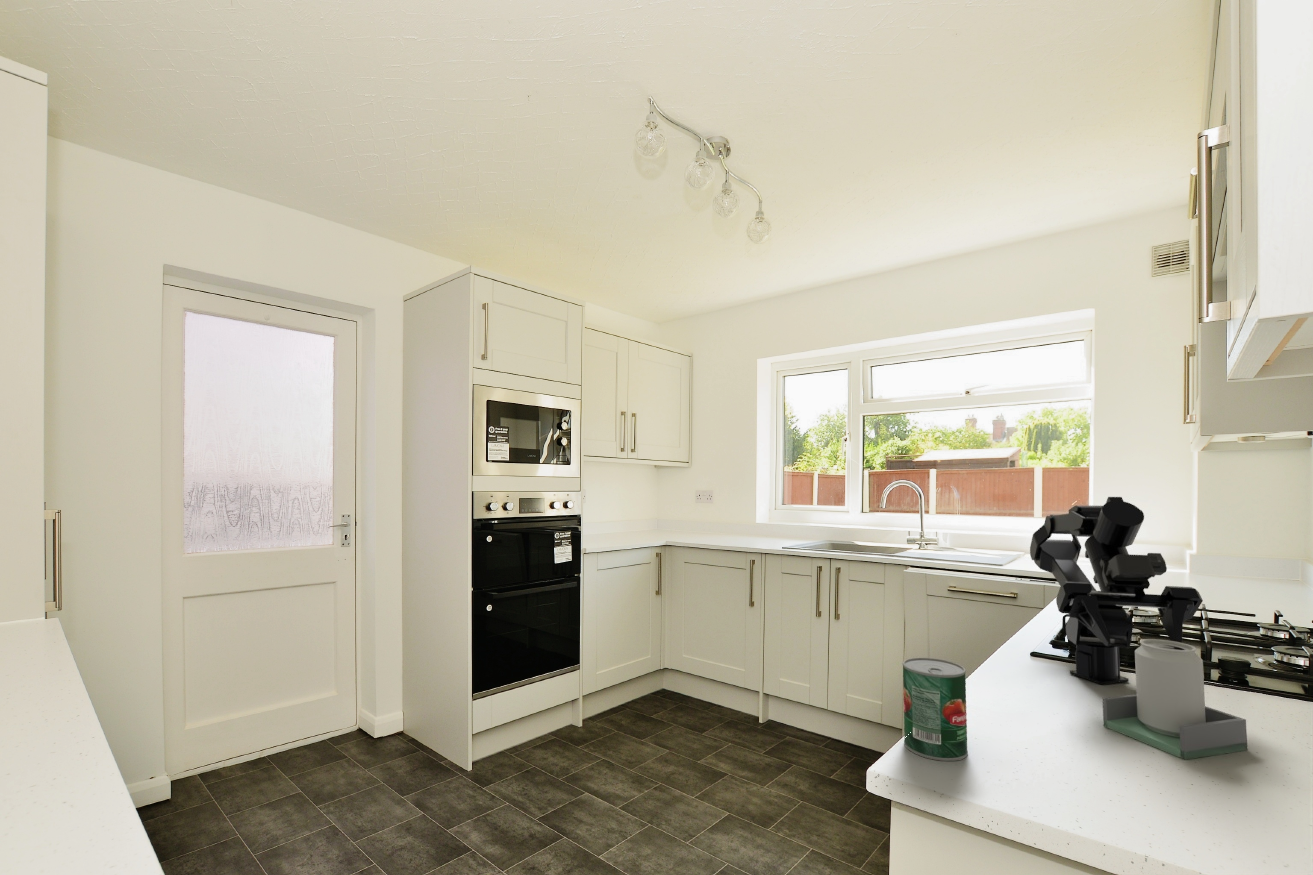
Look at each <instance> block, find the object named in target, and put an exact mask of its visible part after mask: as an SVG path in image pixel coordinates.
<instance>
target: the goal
mask: <svg viewBox="0 0 1313 875" xmlns="http://www.w3.org/2000/svg"><path fill="white" fill-rule="evenodd" d="M1101 699H1102V716H1103V719H1102V720H1103V721H1102V722H1103V727H1105V728H1106V729H1110V730H1113V731H1115V732H1117V733H1120V734H1123V735H1124V736H1127V737H1129V738H1131V739H1135V740H1137V741H1139V742H1142V743H1144V744H1147V745H1149V746H1151V747H1152V748H1153V747H1154V748H1156V749H1158V750H1161V751H1164V752H1165V753H1168V754H1171V755H1173V756H1175V757H1178V758H1180V759H1183V760H1186V761H1188V760H1193V759H1198V758H1199V759H1200V758H1204V757H1205V758H1206V757H1212V756H1213V757H1214V756H1217V755H1224V754H1225V755H1226V754H1231V753H1236V752H1243V751H1248V734H1247V719H1246V718H1242V717H1240V716H1237V715H1234V714H1231V713H1226V712H1224V711H1220V710H1217V709H1216V708H1215V709H1214V708H1212V707H1209V706H1206V705H1205V718H1206V723H1201V724H1193V725H1186V726H1179V730H1180V738H1179V737H1173V736H1168V735H1164V734H1161V733H1158V732H1155V731H1153V730H1151V729H1149V728H1147V727H1146V726H1145V724H1144V723H1142V722H1141V721H1140V720H1139V718H1138V716H1137V693H1135V694H1134V693H1133V694H1128V695H1126V694H1125V695H1119V696H1118V695H1117V696H1111V697H1109V696H1108V697H1102V698H1101Z"/></svg>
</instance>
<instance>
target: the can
mask: <svg viewBox="0 0 1313 875" xmlns="http://www.w3.org/2000/svg"><path fill="white" fill-rule="evenodd" d="M1139 643H1140V644H1141V645H1140V646H1138V647H1137V648H1136V649H1135V650H1134V662H1135V666H1134V667H1135V684H1136V685H1135V687H1136V691H1135V692H1136V694H1137V716H1138V718H1139V720H1140V721H1141V722H1142V723H1144V724H1145V726H1146V727H1147V728H1149V729H1151V730H1153V731H1155V732H1158V733H1161V734H1164V735H1168V736H1173V737H1179V738H1180V730H1179V726H1186V725H1193V724H1201V723H1206V718H1205V706H1206V703H1205V702H1206V701H1205V700H1206V699H1205V698H1206V697H1205V683H1204V682H1205V680H1204V679H1205V678H1204V660H1203V659H1202V658H1201V657H1200V656H1199V655H1198V654H1197V653H1196V652H1197V648H1196V647H1195V646H1193V645H1190V644H1188V643H1184V642H1182V643H1180V642H1175V641H1170V639H1169V640H1168V639H1158V638H1156V639H1155V638H1145V639H1140V641H1139Z"/></svg>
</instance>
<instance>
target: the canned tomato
mask: <svg viewBox="0 0 1313 875" xmlns="http://www.w3.org/2000/svg"><path fill="white" fill-rule="evenodd" d="M901 664H902V680H903V681H902V683H903V686H902V687H903V724H904V725H903V731H904V732H903V733H904V735H903V736H904V740H903V744H904V746H905V748H906V749H907V750H908V751H910V752H911V753H913V754H914V755H915V754H916V755H917V756H920V757H922V758H926V759H928V760H929V759H930V760H933V761H940V762H941V761H942V762H956V761H961V760H964V759H965V758H966V757H967V756H968V753H969V752H968V729H967V728H968V725H967V724H968V723H967V721H968V719H967V714H968V713H967V688H966V686H967V684H966V683H967V682H966V672H967V670H966V668H965V667H964V666H962V665H961V664H959V663H956V662H953V661H950V660H947V659H940V658H936V657H935V658H934V657H912V658H911V657H910V658H907V659H904V660H903V661H902V663H901ZM910 732H911V733H910ZM908 734H909V735H908ZM906 736H907V737H906ZM905 737H906V738H905Z"/></svg>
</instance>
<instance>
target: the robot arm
mask: <svg viewBox="0 0 1313 875" xmlns="http://www.w3.org/2000/svg"><path fill="white" fill-rule="evenodd" d="M1144 519H1145V514H1144V512H1143V510H1142V509H1140V508H1139V507H1137V506H1136V505H1135V504H1133V503H1129V502H1128V501H1124V499H1123V497H1122V496H1108V497H1107V498H1106V502H1105V503H1104V504H1103V505H1084V504H1083V505H1079V504H1077V505H1076V504H1075V505H1073V506H1072V507H1070V508H1069V509H1068V513H1062V514H1061V513H1060V514H1050V515H1046V517H1045V519H1044V524H1043V525H1042V526H1040V527H1039V529H1037V530H1036V531H1035V532H1033V534H1032V538H1031V542H1030V546H1029V554H1030V559H1031V561H1034V564H1035V565H1036V566H1037V567H1038V568H1039V569H1040V570H1042V571H1044V572H1047V573H1050V574H1052V575H1053V577H1054V578H1055V580H1056V581H1057V583H1058V584H1059V587H1060V588H1059V590H1058V592H1057V596H1056V598H1055V600H1056V605H1057V610H1058V612H1059V613H1061V614H1067V615H1068V616H1069V618H1068V620H1067V622H1066V625H1065V633H1066V639H1067V640H1069V641H1070V642H1071V643H1073V644H1074V645H1076V647H1075V648H1076V650H1075V669H1072V670H1069V674H1071V675H1074V676H1076V677H1078V678H1082V679H1085V680H1088V681H1090V682H1094V683H1096V684H1100V685H1107V684H1108V685H1109V684H1116V683H1117V684H1118V683H1125V682H1126V683H1127V682H1130V681H1129V680H1130V679H1129V677H1125V676H1122V675H1121V666H1120V665H1121V662H1120V648H1124V649H1130V648H1131V644H1132V636H1133V629H1134V622H1133V620H1132V618H1131V616H1130V614H1129V613H1127V611H1126V609H1124V608H1123V607H1131V608H1132V607H1134V608H1148V609H1149V608H1151V609H1157V611H1158V613H1159V615H1160V616H1162V618H1161V619H1160V622H1161V625H1162V626H1163V628H1164V630H1165V633H1166V634H1167V635H1166V636H1168V638H1169V641H1175V642H1180V643H1183V629H1184V628H1183V627H1184V626H1183V624H1184V623H1185V622H1186V621H1188V620H1192V619H1193V617H1194V615H1195V614H1196V612H1197V611H1198V609H1199V608H1200V606H1201V605H1202V604H1203V598H1202V595H1201V594H1200V592H1199V591H1198V590H1197V589H1196V588H1194V587H1192V586H1177V585H1176V586H1174V585H1172V586H1171V585H1166V586H1164V589H1163V590H1162V592H1161V594H1153V593H1152V594H1151V593H1150V594H1148V593H1146V592H1145V590H1147V589H1149V588H1150V586H1151V585H1150V584H1151V583H1150V581H1149V579H1151V578H1155V577H1156V576H1161V575H1163V574H1165V573H1166V572H1167V570H1168V568H1167V563H1166V561H1165V559H1164V557H1163V555H1162V553H1161V552H1160V553H1159V552H1148V553H1147V554H1129V551H1128V549H1127V548H1128V547H1129V546H1131V545H1133V543H1134V541H1135V540H1136V537H1137V536H1138V533H1139V531H1140V529H1141V527H1142V525H1143V522H1144ZM1052 534H1054V535H1055V534H1056V535H1071V537H1072V540H1070V539H1051V536H1052ZM1080 537H1081V538H1082V537H1085V538H1087V537H1088V538H1087V539H1086V540H1085V542H1084V548H1085V552H1084V553H1085V554H1084V556H1085V559H1088V560H1089V561H1090V564H1091V568H1092V570H1093V573H1094V576H1093V582H1094V584H1098V586H1099V590H1096V587H1095V586H1094V585H1093V584H1092V582H1091V581H1090V579H1088V577H1087V575H1086V574H1085V573H1084V571H1083V570H1082V569H1081V567H1080V566H1079V565H1078V560H1079V556H1080V553H1081V550H1082V545H1081V542H1080V541H1079V538H1080Z"/></svg>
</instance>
